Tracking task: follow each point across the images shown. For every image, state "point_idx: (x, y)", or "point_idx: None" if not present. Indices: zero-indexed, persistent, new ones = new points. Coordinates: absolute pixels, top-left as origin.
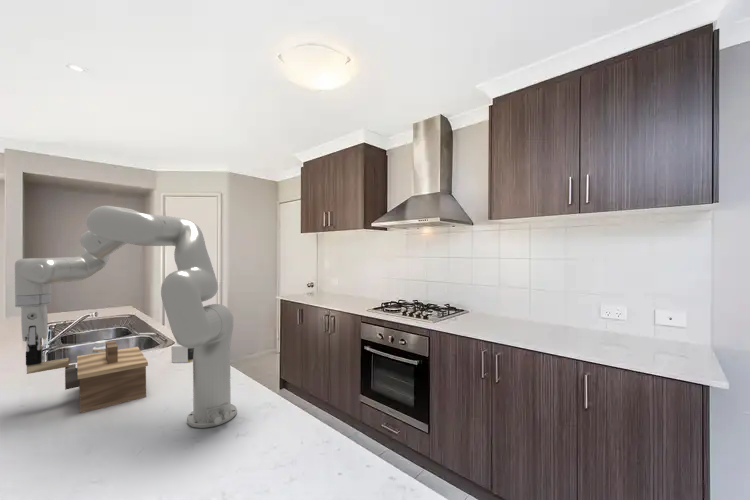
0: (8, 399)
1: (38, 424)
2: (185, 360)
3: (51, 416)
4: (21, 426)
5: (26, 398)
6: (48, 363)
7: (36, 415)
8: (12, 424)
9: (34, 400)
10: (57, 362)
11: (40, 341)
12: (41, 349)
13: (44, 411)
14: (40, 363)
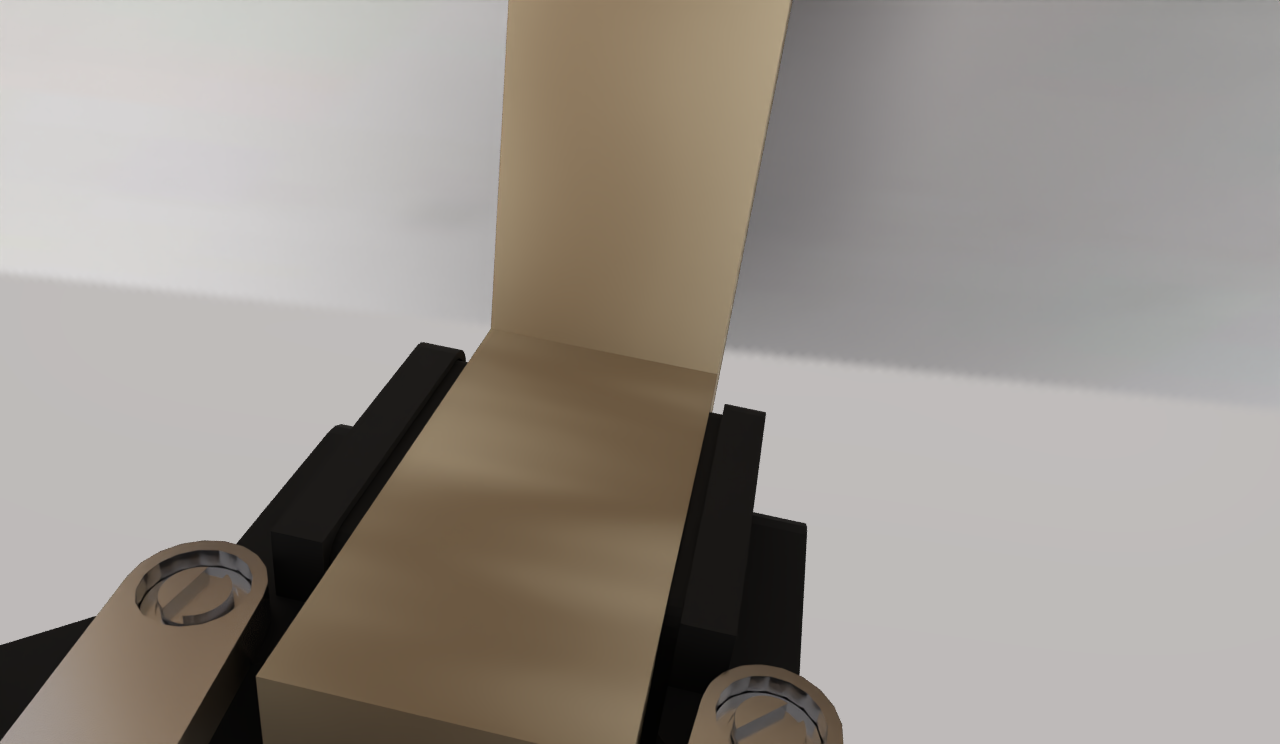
0: (160, 277)
1: (1214, 181)
2: None
3: (1091, 50)
4: (1094, 295)
5: (233, 160)
6: (737, 263)
7: (893, 159)
8: (949, 337)
9: (358, 112)
10: (768, 97)
11: (208, 712)
12: (464, 544)
13: (835, 83)
14: (708, 398)
